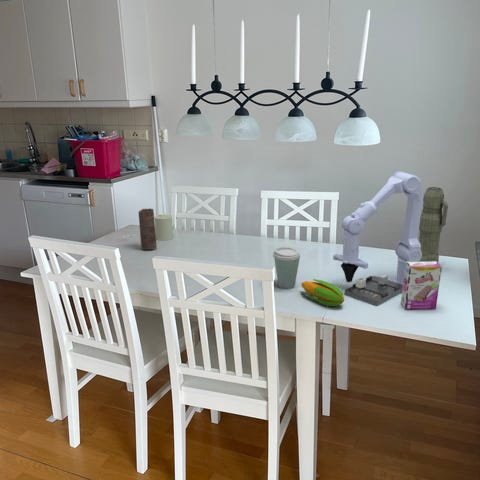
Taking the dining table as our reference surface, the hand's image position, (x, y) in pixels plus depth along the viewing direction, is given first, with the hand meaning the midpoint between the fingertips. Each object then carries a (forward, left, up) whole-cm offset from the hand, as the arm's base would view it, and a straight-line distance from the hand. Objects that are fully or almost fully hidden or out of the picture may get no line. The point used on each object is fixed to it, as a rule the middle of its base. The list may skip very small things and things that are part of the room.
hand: (349, 281), depth 186 cm
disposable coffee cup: (+15, -19, -3) cm, 24 cm away
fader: (-9, +9, -1) cm, 13 cm away
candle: (+28, -97, -3) cm, 101 cm away
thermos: (-40, +11, -3) cm, 42 cm away
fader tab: (0, +5, 0) cm, 5 cm away
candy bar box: (-4, +27, -3) cm, 27 cm away
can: (+12, -107, -3) cm, 107 cm away
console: (-4, +9, -3) cm, 10 cm away
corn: (+16, -1, -3) cm, 17 cm away
